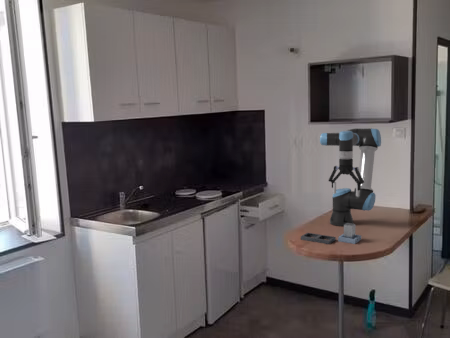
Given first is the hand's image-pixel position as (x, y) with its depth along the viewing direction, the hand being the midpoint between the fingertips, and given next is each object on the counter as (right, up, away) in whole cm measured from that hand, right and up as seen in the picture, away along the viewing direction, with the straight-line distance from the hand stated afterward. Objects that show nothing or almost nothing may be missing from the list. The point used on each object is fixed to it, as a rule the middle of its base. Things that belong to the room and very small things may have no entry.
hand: (345, 194), depth 262 cm
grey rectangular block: (+2, -26, +1) cm, 26 cm away
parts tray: (+3, -27, +1) cm, 27 cm away
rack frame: (-15, -27, +4) cm, 31 cm away
